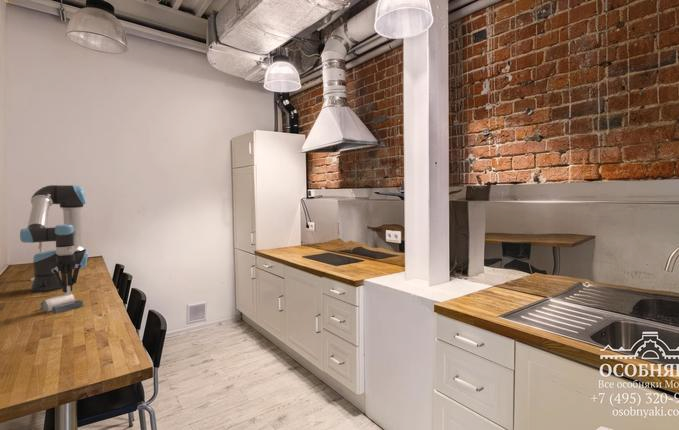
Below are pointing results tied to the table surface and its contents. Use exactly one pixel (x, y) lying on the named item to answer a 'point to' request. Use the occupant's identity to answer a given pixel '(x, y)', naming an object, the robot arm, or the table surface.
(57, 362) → the table surface
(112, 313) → the table surface
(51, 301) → the can
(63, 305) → the slot guide
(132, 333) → the table surface
